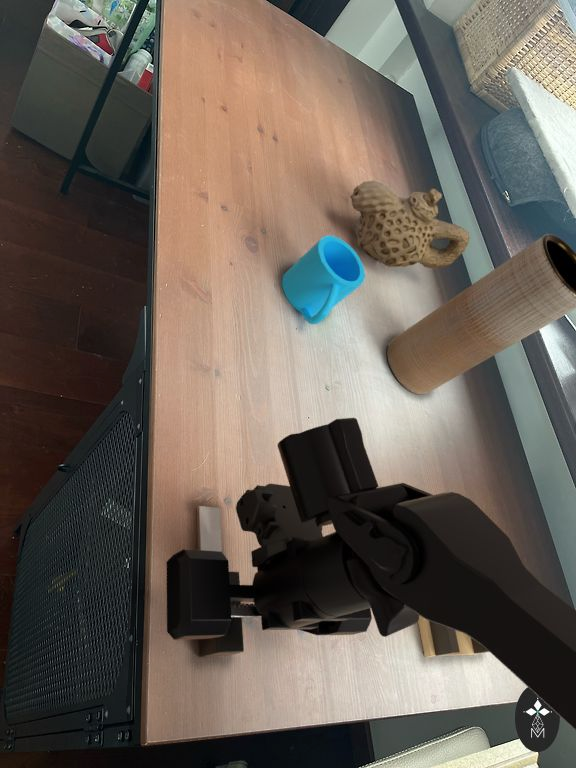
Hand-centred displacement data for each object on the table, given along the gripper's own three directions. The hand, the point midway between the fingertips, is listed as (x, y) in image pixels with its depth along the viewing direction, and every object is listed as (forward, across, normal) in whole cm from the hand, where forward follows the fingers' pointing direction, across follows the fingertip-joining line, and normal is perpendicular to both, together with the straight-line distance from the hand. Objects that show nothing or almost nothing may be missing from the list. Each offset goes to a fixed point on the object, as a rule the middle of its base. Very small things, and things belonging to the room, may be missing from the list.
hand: (223, 612), depth 57 cm
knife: (+2, 0, -4) cm, 4 cm away
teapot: (+2, -34, -59) cm, 68 cm away
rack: (+2, -33, +1) cm, 33 cm away
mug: (+2, -17, -42) cm, 45 cm away
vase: (+2, -37, -37) cm, 52 cm away
